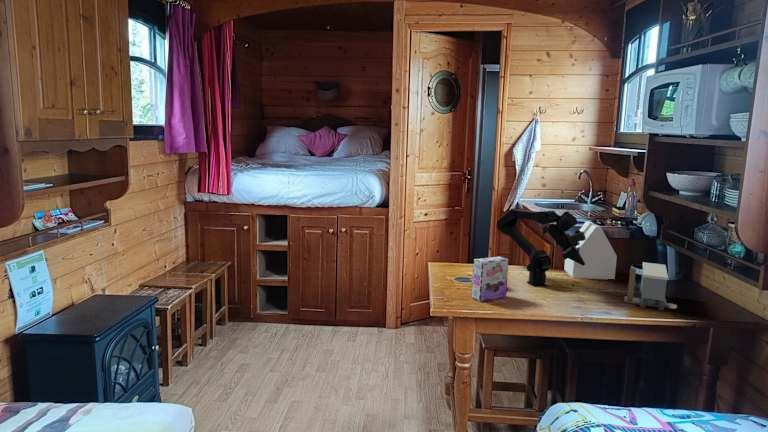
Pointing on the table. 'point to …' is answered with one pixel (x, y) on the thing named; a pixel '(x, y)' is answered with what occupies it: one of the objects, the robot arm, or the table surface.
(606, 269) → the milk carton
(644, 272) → the cabinet
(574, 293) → the table surface
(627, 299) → the sweeper
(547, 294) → the table surface
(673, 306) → the steel token
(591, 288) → the table surface
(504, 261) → the candy box
